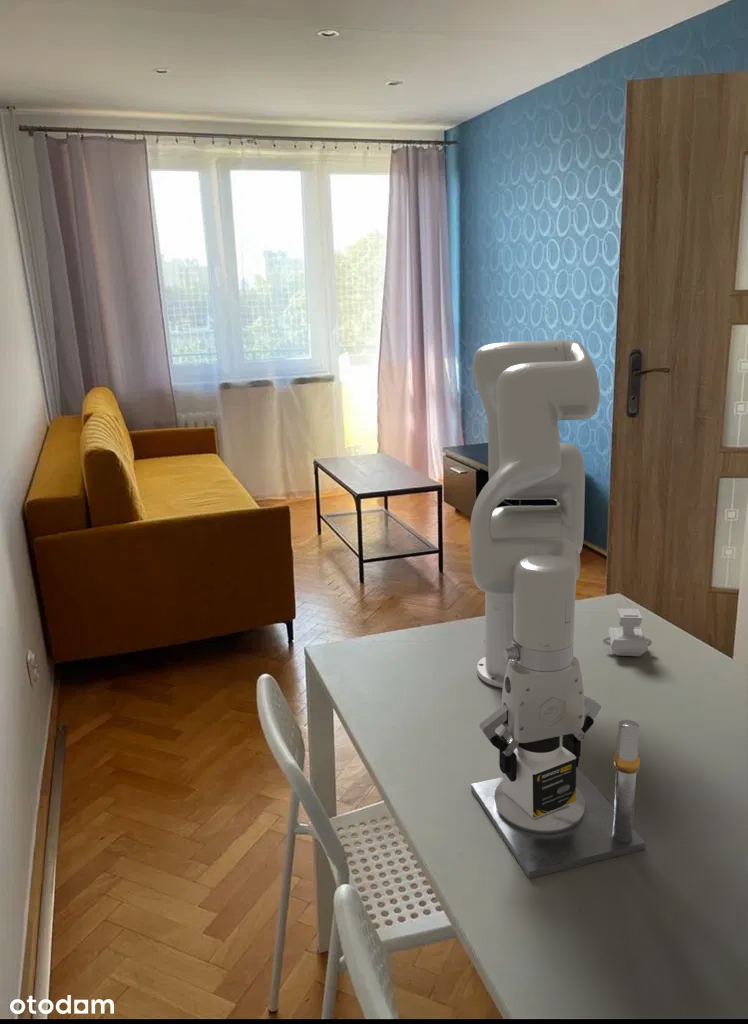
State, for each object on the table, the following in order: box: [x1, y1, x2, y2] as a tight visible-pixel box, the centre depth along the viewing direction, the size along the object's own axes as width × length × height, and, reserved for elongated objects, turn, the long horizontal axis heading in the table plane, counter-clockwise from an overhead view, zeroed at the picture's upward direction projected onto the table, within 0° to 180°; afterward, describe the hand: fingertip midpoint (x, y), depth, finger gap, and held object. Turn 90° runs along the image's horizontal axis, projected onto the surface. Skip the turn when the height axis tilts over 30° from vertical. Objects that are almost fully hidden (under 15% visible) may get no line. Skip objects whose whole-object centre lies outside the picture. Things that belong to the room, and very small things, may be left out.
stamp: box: [602, 608, 653, 657], centre depth 147 cm, size 9×7×8 cm
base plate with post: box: [470, 719, 646, 879], centre depth 102 cm, size 18×16×17 cm
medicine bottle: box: [501, 736, 576, 819], centre depth 104 cm, size 7×7×12 cm
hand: (539, 768), depth 104 cm, fingers open, 8 cm apart
